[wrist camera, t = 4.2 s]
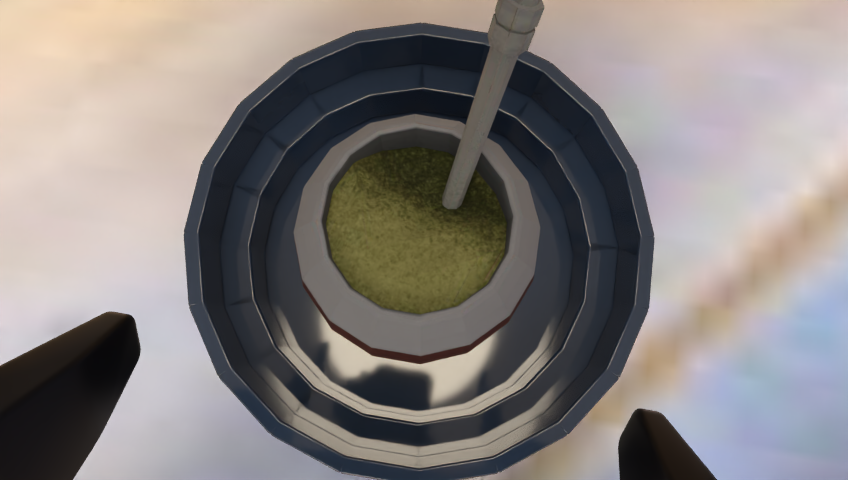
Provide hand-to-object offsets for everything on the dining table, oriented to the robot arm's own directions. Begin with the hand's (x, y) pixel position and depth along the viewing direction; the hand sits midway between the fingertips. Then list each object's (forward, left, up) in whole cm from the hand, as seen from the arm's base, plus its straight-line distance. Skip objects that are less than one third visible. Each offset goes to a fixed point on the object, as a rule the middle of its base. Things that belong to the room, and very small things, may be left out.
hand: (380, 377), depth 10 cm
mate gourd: (+4, +2, -11) cm, 12 cm away
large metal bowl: (+4, +2, -11) cm, 12 cm away
